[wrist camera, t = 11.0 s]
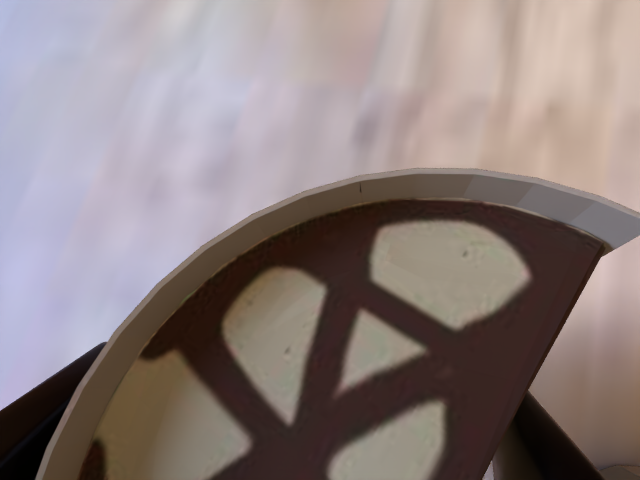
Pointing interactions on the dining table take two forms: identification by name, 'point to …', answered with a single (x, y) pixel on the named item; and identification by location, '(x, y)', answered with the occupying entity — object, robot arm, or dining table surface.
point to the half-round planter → (344, 335)
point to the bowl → (621, 472)
